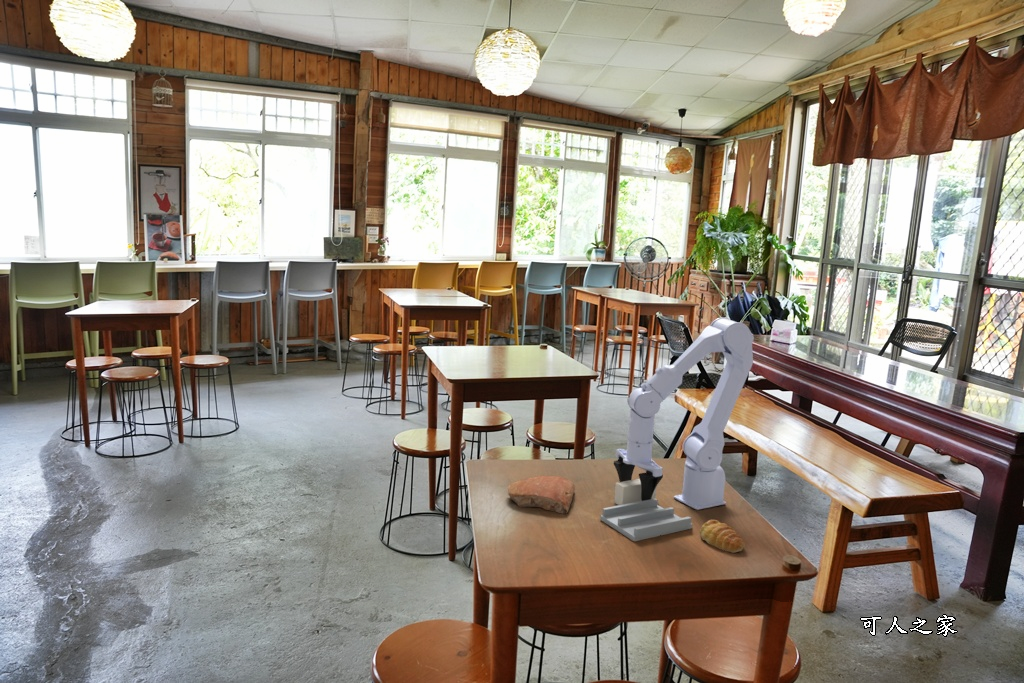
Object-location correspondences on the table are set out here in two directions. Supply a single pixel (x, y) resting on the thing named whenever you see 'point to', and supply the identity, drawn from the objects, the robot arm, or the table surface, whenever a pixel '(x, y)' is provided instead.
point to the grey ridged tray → (644, 520)
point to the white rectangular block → (629, 492)
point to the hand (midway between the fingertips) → (635, 495)
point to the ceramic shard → (543, 493)
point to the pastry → (721, 536)
